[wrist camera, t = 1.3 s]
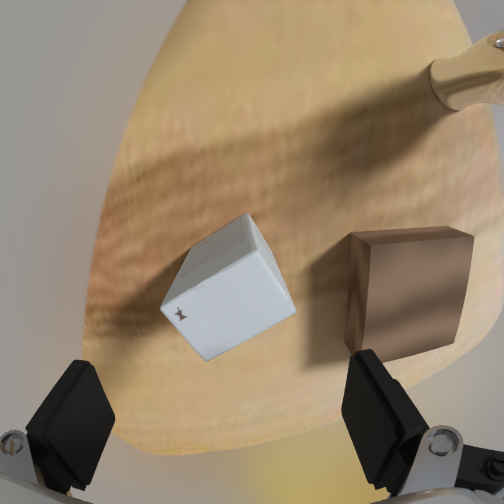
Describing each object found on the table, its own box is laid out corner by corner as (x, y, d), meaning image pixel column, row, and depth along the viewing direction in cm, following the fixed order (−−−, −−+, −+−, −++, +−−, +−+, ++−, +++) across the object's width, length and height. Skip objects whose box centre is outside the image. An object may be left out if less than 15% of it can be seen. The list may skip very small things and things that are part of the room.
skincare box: (217, 284, 27) (203, 365, 15) (190, 246, 26) (154, 308, 14) (274, 250, 26) (299, 314, 15) (248, 209, 25) (255, 246, 14)
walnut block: (348, 231, 26) (370, 245, 21) (445, 225, 26) (474, 236, 22) (343, 340, 30) (358, 367, 25) (431, 322, 30) (453, 343, 25)
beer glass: (434, 113, 23) (547, 98, 8) (418, 52, 21) (515, 7, 6) (475, 115, 23) (576, 110, 8) (461, 60, 21) (553, 33, 6)
